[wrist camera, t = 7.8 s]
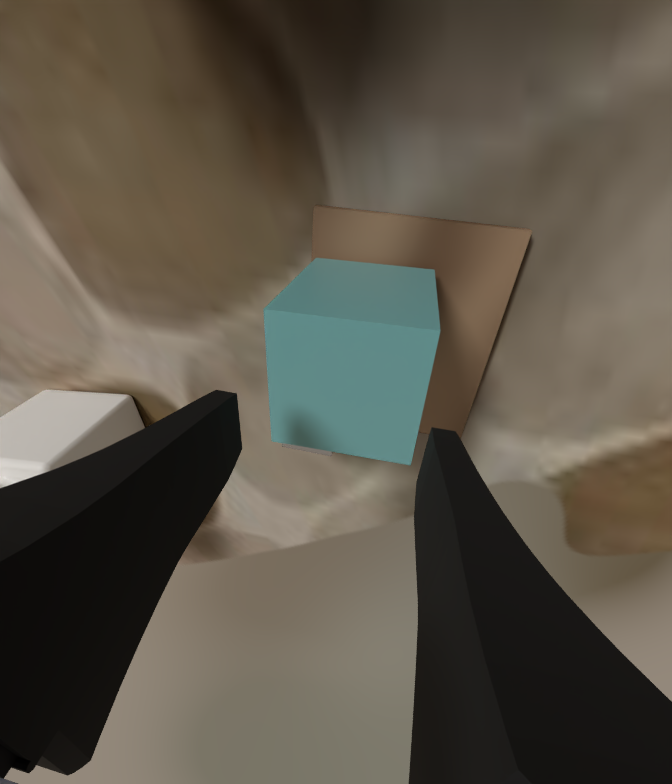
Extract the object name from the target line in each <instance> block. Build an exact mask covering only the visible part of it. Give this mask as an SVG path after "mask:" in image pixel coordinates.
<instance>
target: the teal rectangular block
mask: <svg viewBox="0 0 672 784" xmlns="http://www.w3.org/2000/svg"><path fill="white" fill-rule="evenodd" d="M264 324H265V340H266V357H267V373H268V390H269V406H270V422H271V439H272V441H273V442H279V443H285V444H291V445H296V446H302V447H308V448H314V449H319V450H325V451H331V452H337V453H342V454H348V455H354V456H360V457H365V458H371V459H377V460H383V461H389V462H394V463H400V464H406V465H411V462H412V457H413V453H414V448H415V444H416V439H417V435H418V430H419V426H420V421H421V417H422V412H423V408H424V403H425V399H426V394H427V390H428V385H429V381H430V376H431V372H432V367H433V363H434V358H435V354H436V349H437V345H438V340H439V335H440V320H439V310H438V299H437V289H436V279H435V270H433V269H423V268H414V267H404V266H394V265H384V264H374V263H364V262H354V261H344V260H334V259H325V258H315V259H314V260H313V261H312V262H311V263H310V264H309V265H308V266H307V267H306V268H305V269H304V270H303V271H302V272H301V273H300V274H299V275H298V276H297V277H296V278H295V279H294V280H293V281H292V282H291V283H290V284H289V285H288V286H287V287H286V288H285V289H284V290H283V291H282V292H281V293H280V294H279V295H277V296H276V297H275V298H274V299H273V300H272V301H271V302H270V303H269V304H268V305H267V306H266V307H265V308H264Z"/></svg>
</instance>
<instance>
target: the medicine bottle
mask: <svg viewBox="0 0 672 784" xmlns="http://www.w3.org/2000/svg"><path fill="white" fill-rule="evenodd" d="M144 428H145V426H144V424H143V422H142V419H141V417H140V415H139V412H138V410H137V407H136V405H135V403H134V400H133V398H132V396H130V395H126V394H111V393H95V392H79V391H64V390H48V389H47V390H44V391H42V392H40V393H39V394H37V395H35V396H34V397H32V398H31V399H29V400H27V401H26V402H24V403H23V404H21V405H19V406H18V407H16V408H15V409H13V410H11V411H10V412H8V413H7V414H5V415H3V416H2V417H0V488H2V487H5V486H8V485H11V484H14V483H17V482H20V481H22V480H25V479H28V478H31V477H34V476H37V475H40V474H42V473H45V472H48V471H51V470H53V469H56V468H59V467H61V466H64V465H66V464H68V463H71V462H73V461H76V460H78V459H81V458H83V457H85V456H88V455H90V454H92V453H95V452H97V451H99V450H101V449H103V448H106V447H108V446H110V445H112V444H114V443H116V442H118V441H120V440H122V439H124V438H126V437H128V436H130V435H132V434H134V433H136V432H138V431H140V430H142V429H144Z"/></svg>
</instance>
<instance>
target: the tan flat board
mask: <svg viewBox="0 0 672 784" xmlns="http://www.w3.org/2000/svg"><path fill="white" fill-rule="evenodd" d="M531 234H532V231H531V230H530V229H525V228H516V227H507V226H498V225H490V224H481V223H472V222H463V221H454V220H445V219H437V218H428V217H419V216H410V215H401V214H392V213H383V212H375V211H366V210H357V209H348V208H339V207H330V206H322V205H315V206H314V209H313V235H312V261H313V260H314V259H315V258H325V259H334V260H344V261H354V262H364V263H374V264H384V265H394V266H404V267H414V268H423V269H433V270H435V279H436V289H437V299H438V310H439V320H440V335H439V340H438V345H437V349H436V354H435V358H434V363H433V367H432V372H431V376H430V381H429V385H428V390H427V394H426V399H425V403H424V408H423V412H422V417H421V421H420V426H419V430H418V432H420V433H426V434H430V431H431V427H434V428H440V429H446V430H451V431H456V433H457V434H458V435H459V437H460V439H461V436H462V433H463V430H464V427H465V424H466V421H467V418H468V416H469V413H470V410H471V407H472V404H473V401H474V398H475V395H476V392H477V390H478V387H479V384H480V381H481V378H482V375H483V372H484V369H485V366H486V364H487V361H488V358H489V355H490V352H491V349H492V346H493V343H494V340H495V338H496V335H497V332H498V329H499V326H500V323H501V320H502V317H503V314H504V312H505V309H506V306H507V303H508V300H509V297H510V294H511V291H512V288H513V286H514V283H515V280H516V277H517V274H518V271H519V268H520V265H521V262H522V260H523V257H524V254H525V251H526V248H527V245H528V242H529V239H530V236H531ZM312 261H311V262H312Z"/></svg>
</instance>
